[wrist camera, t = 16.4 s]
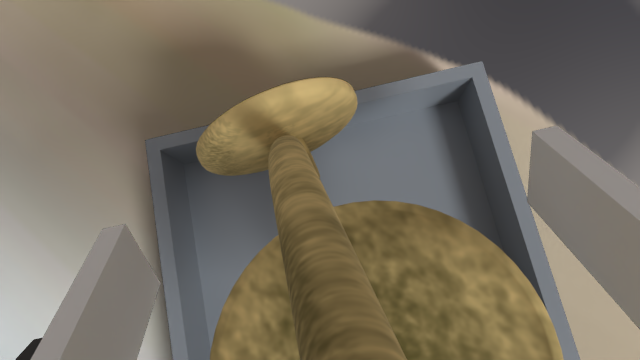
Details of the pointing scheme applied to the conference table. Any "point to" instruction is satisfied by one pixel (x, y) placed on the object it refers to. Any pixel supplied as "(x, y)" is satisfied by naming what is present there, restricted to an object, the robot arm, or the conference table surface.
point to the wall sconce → (358, 256)
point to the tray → (348, 194)
